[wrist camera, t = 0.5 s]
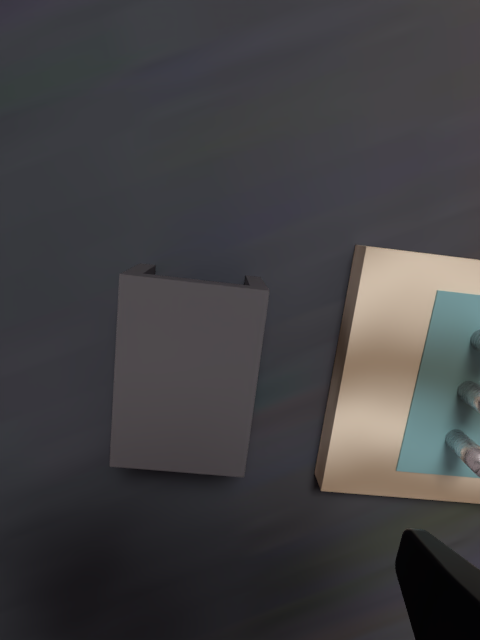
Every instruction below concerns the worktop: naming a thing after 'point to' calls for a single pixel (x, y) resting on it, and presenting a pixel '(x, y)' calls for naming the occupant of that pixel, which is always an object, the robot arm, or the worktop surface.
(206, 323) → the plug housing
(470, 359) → the pin board
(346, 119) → the worktop surface
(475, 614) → the robot arm
